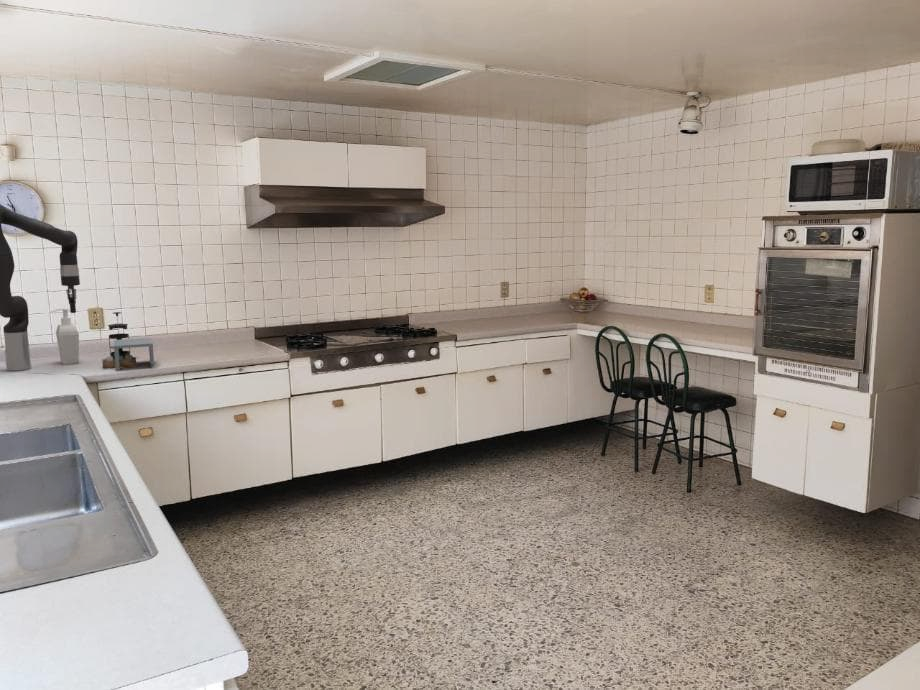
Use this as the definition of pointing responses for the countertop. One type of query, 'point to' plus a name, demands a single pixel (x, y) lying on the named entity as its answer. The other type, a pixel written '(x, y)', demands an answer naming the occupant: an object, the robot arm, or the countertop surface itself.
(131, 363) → the tray
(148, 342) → the grey small table
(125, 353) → the french press
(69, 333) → the soap bottle
